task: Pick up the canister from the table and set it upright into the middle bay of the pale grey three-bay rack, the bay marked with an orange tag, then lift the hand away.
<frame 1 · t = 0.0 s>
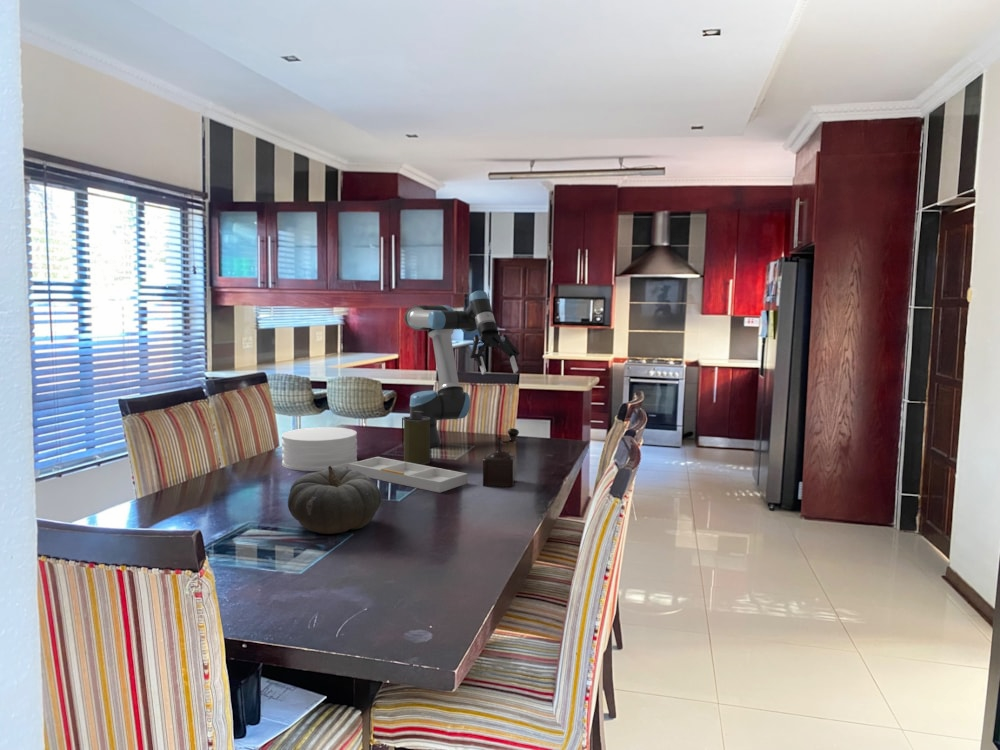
hand: (500, 372, 265), 36 cm above the table, fingers open, 13 cm apart
plate stack: (320, 463, 269), on the table
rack: (406, 478, 246), on the table
pepper mill: (501, 482, 244), on the table
canister: (416, 462, 271), on the table
gourd: (337, 526, 193), on the table
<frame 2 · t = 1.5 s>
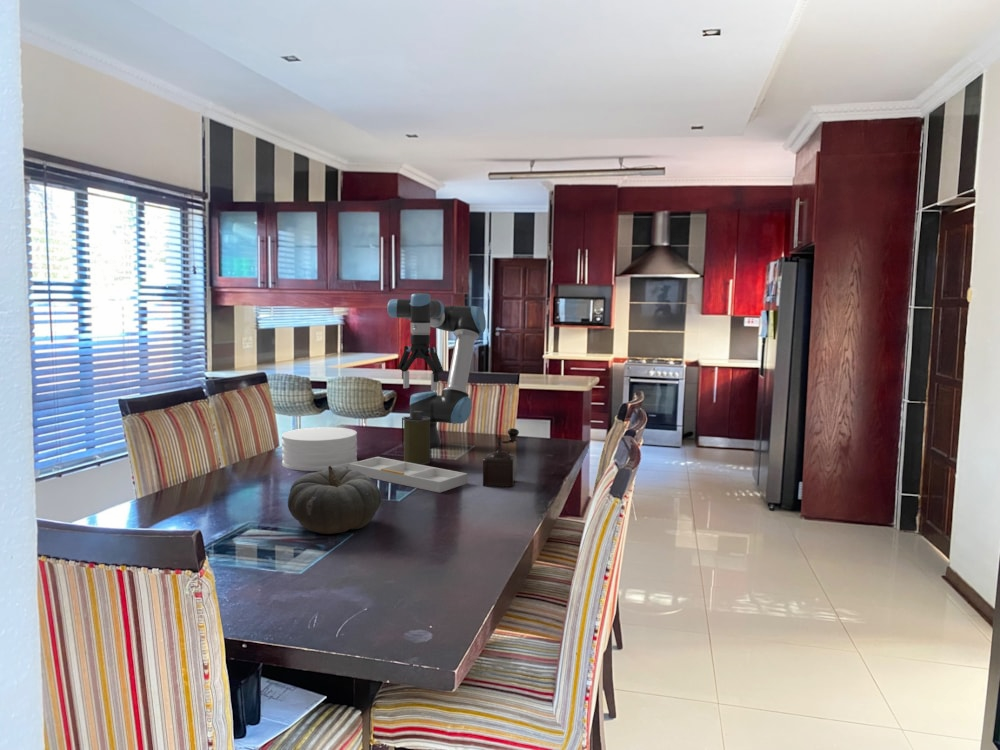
hand: (419, 389, 268), 29 cm above the table, fingers open, 13 cm apart
nothing on the table moved.
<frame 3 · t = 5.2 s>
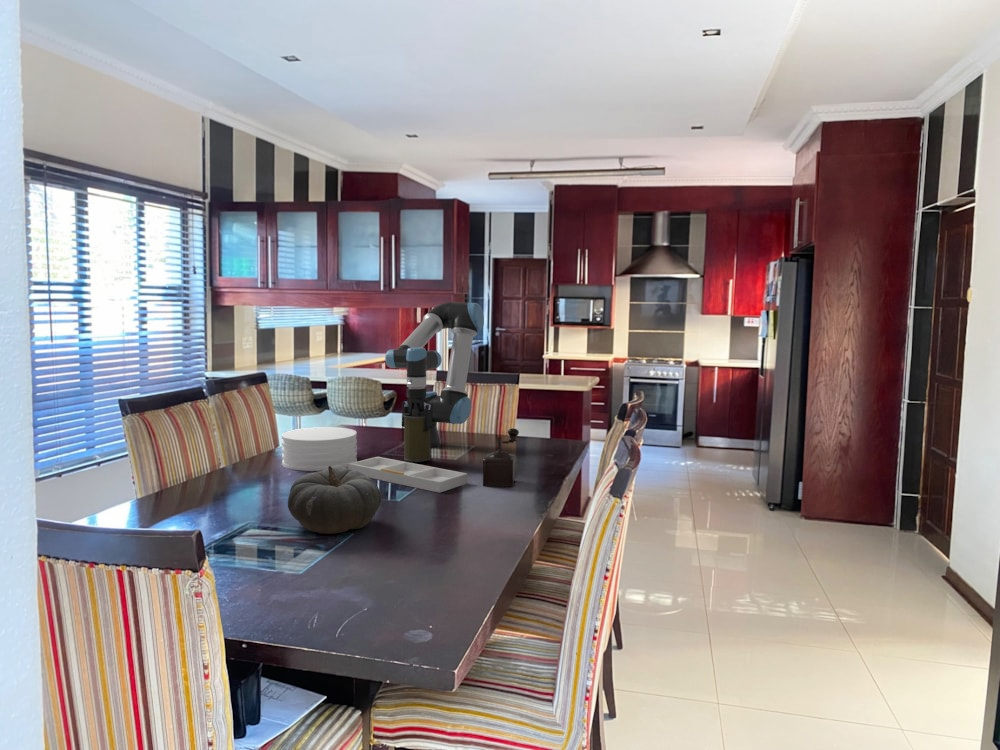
hand: (416, 446, 271), 6 cm above the table, fingers open, 6 cm apart
canister: (416, 459, 272), point 1 cm above the table, touching hand
everything else where it was.
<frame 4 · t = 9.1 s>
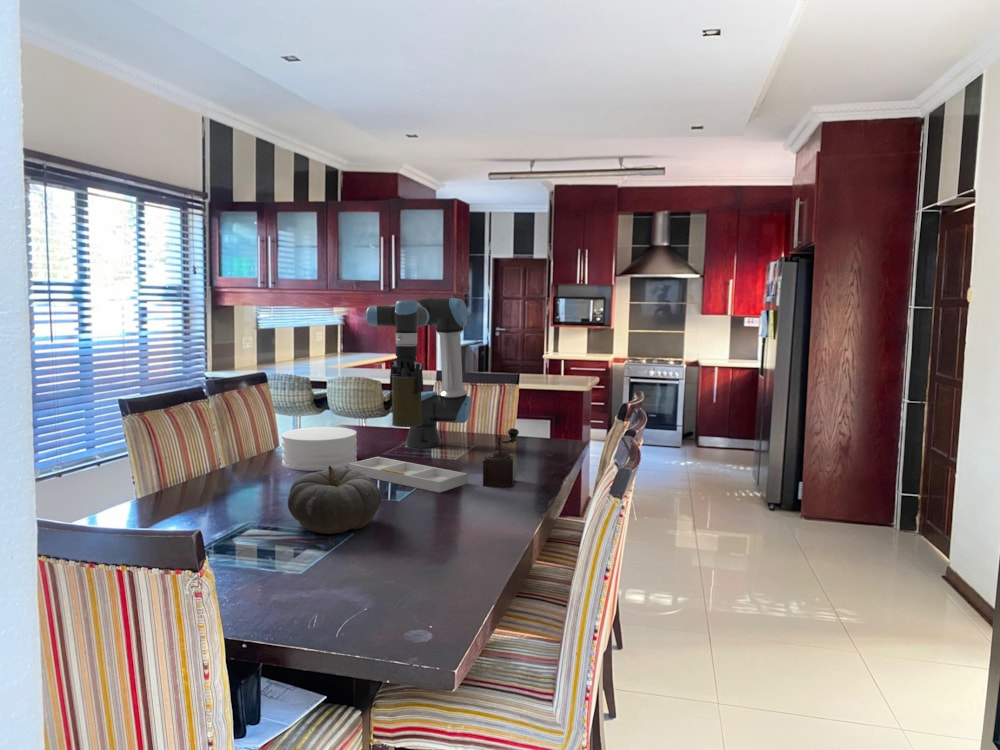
hand: (406, 410, 244), 24 cm above the table, fingers open, 6 cm apart
canister: (406, 425, 244), point 19 cm above the table, touching hand
everything else where it was.
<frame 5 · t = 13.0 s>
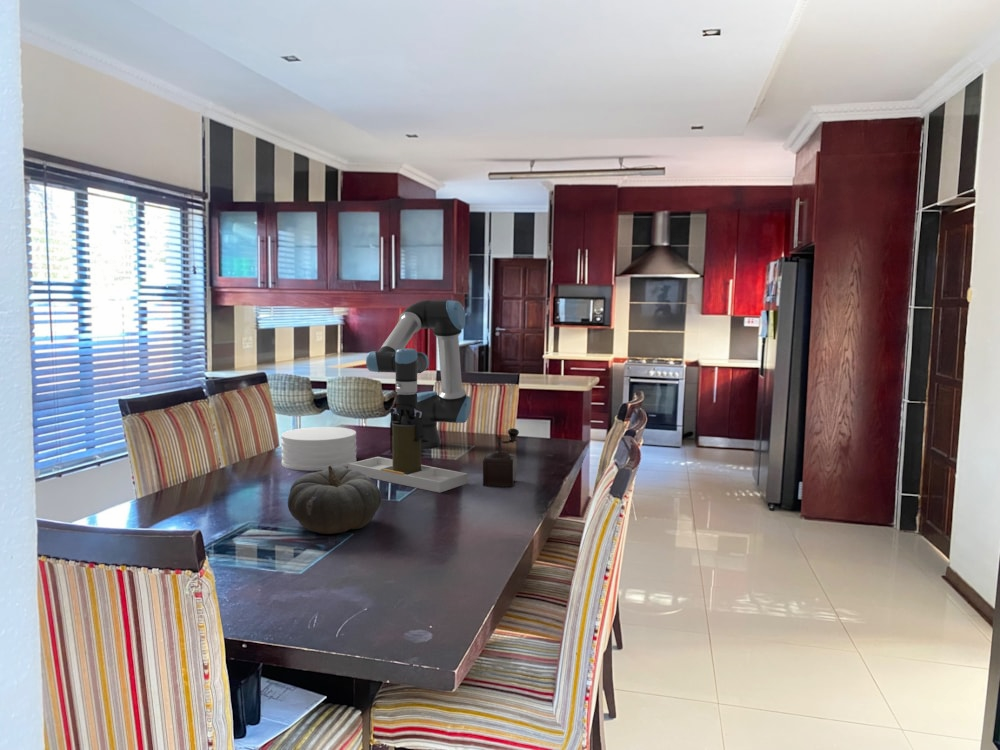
hand: (406, 457, 246), 7 cm above the table, fingers open, 6 cm apart
canister: (406, 471, 246), point 2 cm above the table, touching hand
everything else where it was.
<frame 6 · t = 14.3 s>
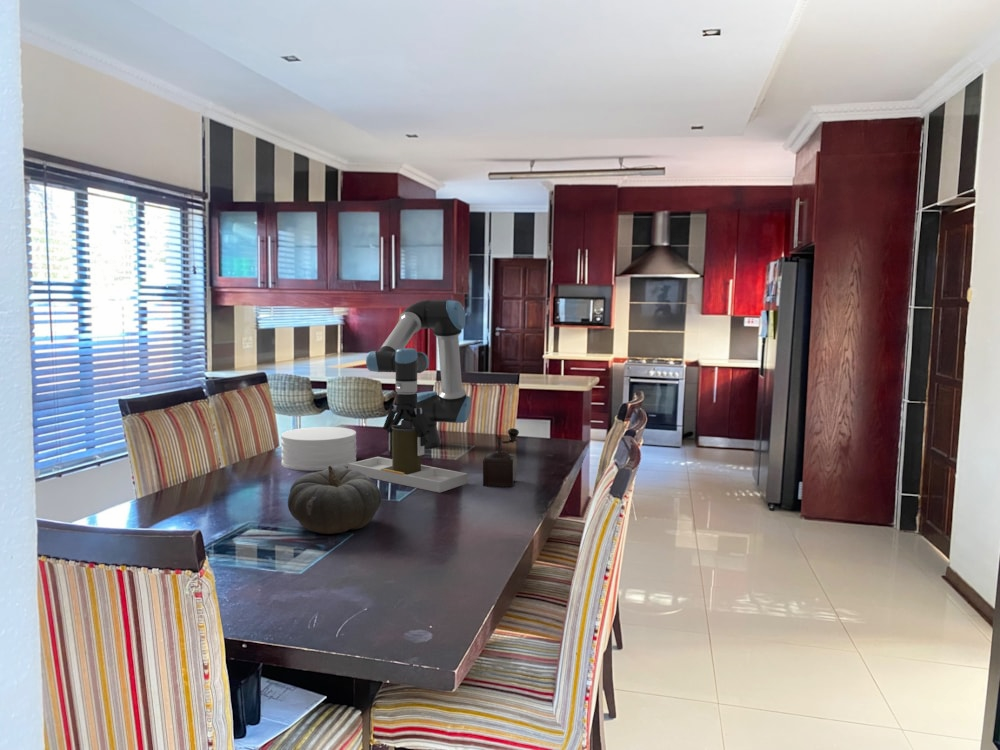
hand: (406, 452, 245), 9 cm above the table, fingers open, 13 cm apart
canister: (406, 475, 246), point 1 cm above the table, touching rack
everything else where it was.
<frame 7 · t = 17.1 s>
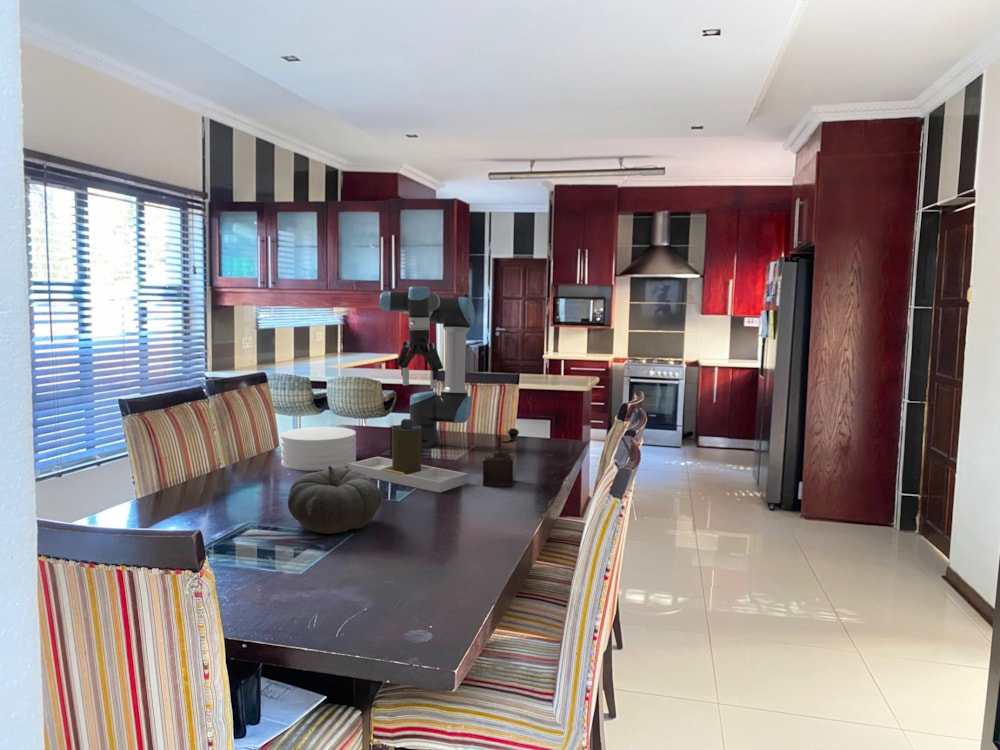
hand: (419, 386, 256), 31 cm above the table, fingers open, 13 cm apart
nothing on the table moved.
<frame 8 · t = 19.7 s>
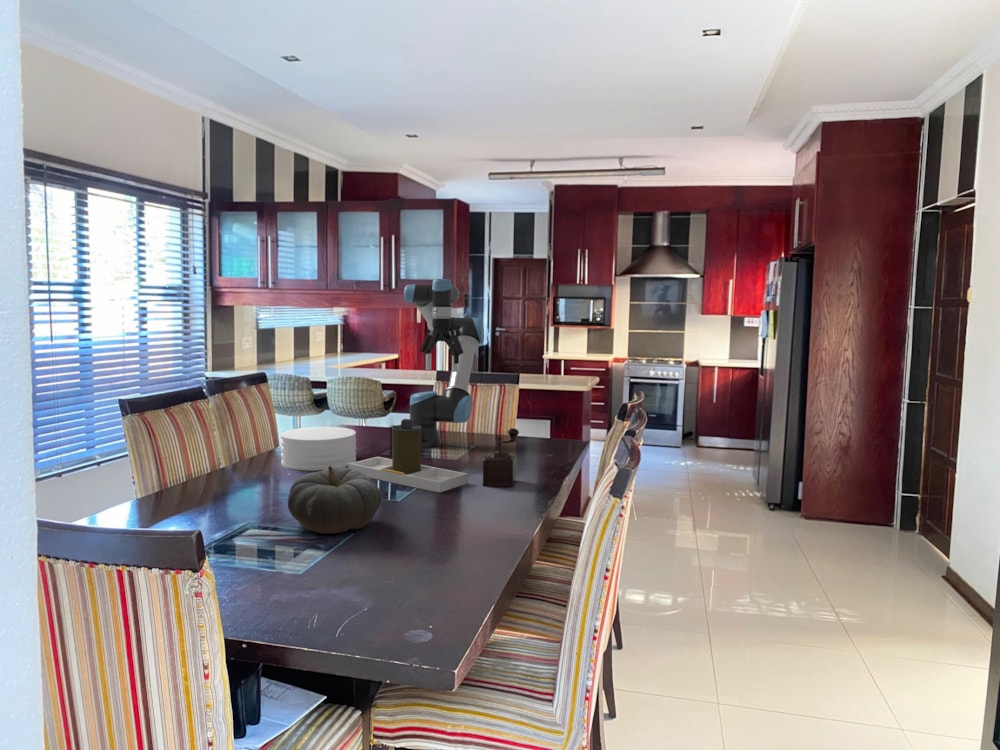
hand: (441, 370, 280), 35 cm above the table, fingers open, 13 cm apart
at the end: canister inside the target area on the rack (0.1 cm from its centre), point 0.8 cm above the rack's base; canister tilted 0°; the gripper is holding nothing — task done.
